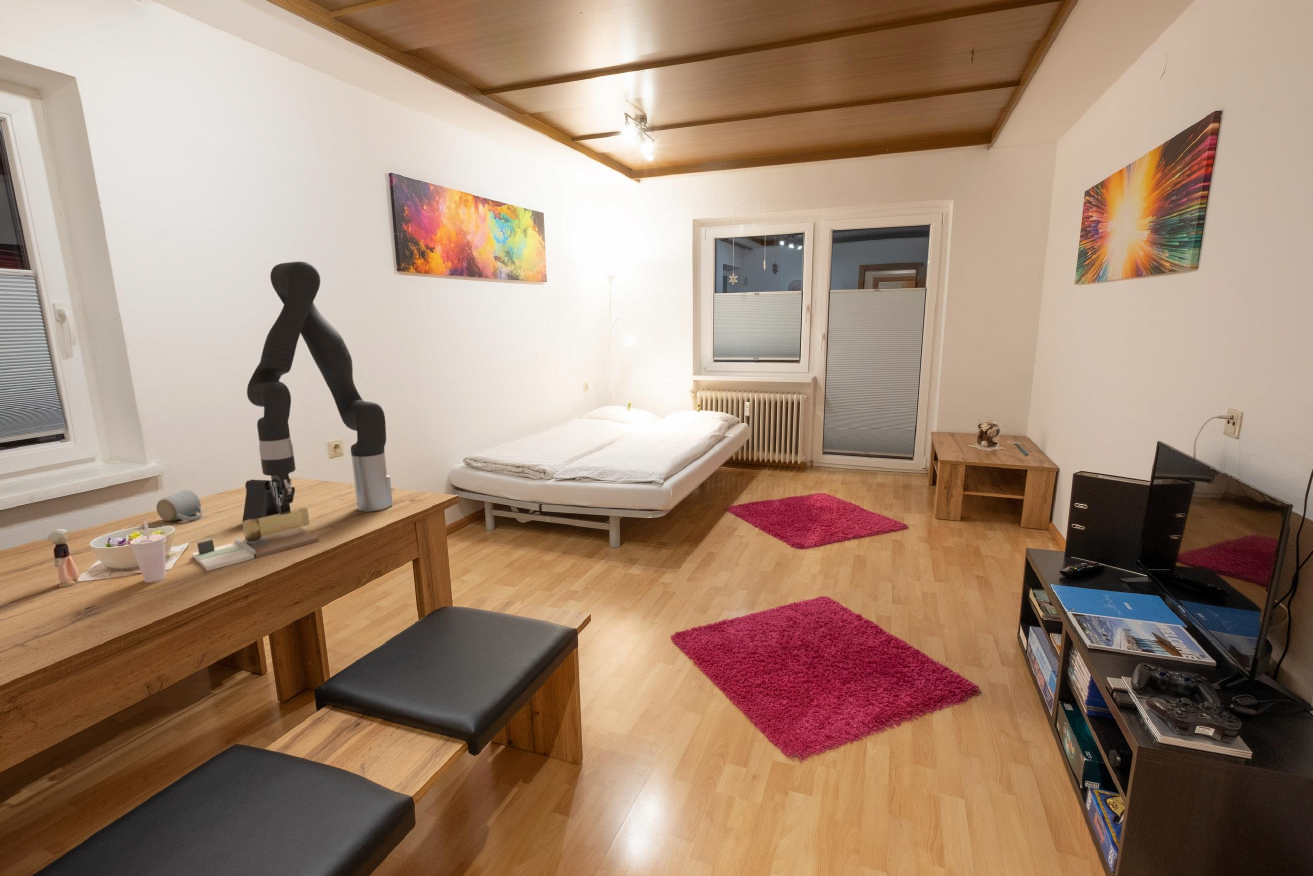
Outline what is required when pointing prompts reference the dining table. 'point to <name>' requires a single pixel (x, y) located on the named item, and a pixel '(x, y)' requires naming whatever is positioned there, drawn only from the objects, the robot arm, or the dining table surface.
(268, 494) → the phone stand
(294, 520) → the swing bar
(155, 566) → the smoothie
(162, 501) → the ceramic mug
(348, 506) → the dining table surface
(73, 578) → the grandmother figurine
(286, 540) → the door mockup
